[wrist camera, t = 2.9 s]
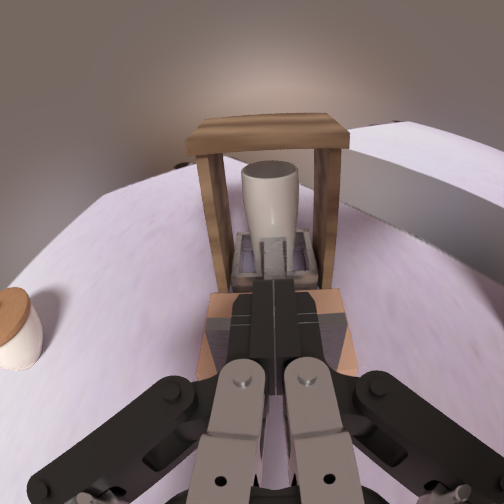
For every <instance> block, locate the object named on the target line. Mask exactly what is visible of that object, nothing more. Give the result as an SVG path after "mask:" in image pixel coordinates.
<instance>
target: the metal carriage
mask: <svg viewBox="0 0 504 504" xmlns="http://www.w3.org/2000/svg"><path fill="white" fill-rule="evenodd" d="M294 249H303V252H304V257H305V263H306V269H307V270H306V271H287V240H286V237H271V238H260V254H261V267H262V272H260V273H242V267H243V256H244V251H253V250H252V244H251V239H250V234H249V232H237V237H236V244H235V251H234V259H233V266H232V273H231V282H232V288H233V293H251V292H253V280H266V279H272V282H273V318H274V367H275V386H277V377H276V334H275V293H274V279H292V278H293V279H294V287H295V291H300V290H317V282H318V271H317V266H316V262H315V257H314V253H313V248H312V244H311V239H310V235H309V231H308V229H296V237H295V247H294ZM317 315H318V323H319V327H320V333H321V340H322V346H323V353H324V358H325V360H326V362H327V364H328V365H329V366H330V367H331V368H332V369H333V370H335V371H336V372H337V369H338V365H339V361H340V357H341V353H342V348H343V344H344V340H345V335H346V331H347V326H348V323H347V319H346V315H345V312H343V313H328V314H317ZM230 326H231V317H230V318H207V319H206V325H205V334H206V337H207V340H208V344H209V347H210V351H211V354H212V357H213V361H214V364H215V367H216V371H217V373H219V372H220V371H221V370H222V368H223V367H224V365H225V363H226V359H227V351H228V342H229V333H230Z"/></svg>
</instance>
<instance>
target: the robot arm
mask: <svg viewBox="0 0 504 504" xmlns="http://www.w3.org/2000/svg"><path fill="white" fill-rule="evenodd" d="M274 293H275V334H276V377H277V395H283V422H284V431H285V440H286V449H287V458H288V476H289V487H288V488H284V489H280V490H270V489H265V488H261V482H262V470H263V455H264V446H265V436H266V426H267V415H268V412H269V395H275V367H274V318H273V282H272V279H266V280H253V292H252V294H239V295H238V297H237V298H236V300H235V301H234V303H233V306H232V317H231V326H230V333H229V342H228V351H227V359H226V363H225V365H224V367H223V368H222V370H221V371H220V372H219V373H217V374H216V375H214V376H212V377H210V378H207V379H204V380H200V381H196V382H192V383H191V382H190V381H189V380H187V379H186V378H184V377H181V376H167V377H164V378H162V379H160V380H159V381H157V382H156V383H155V384H154V385H152V386H151V387H150V388H149V389H147V390H146V391H145V392H144V393H142V394H141V395H140V396H139V397H137V398H136V399H135V400H133V401H132V402H131V403H130V404H128V405H127V406H126V407H125V408H123V409H122V410H121V411H119V412H118V413H117V414H115V415H114V416H113V417H112V418H110V419H109V420H108V421H106V422H105V423H104V424H102V425H101V426H100V427H98V428H97V429H96V430H94V431H93V432H92V433H91V434H89V435H88V436H86V437H85V438H84V439H82V440H81V441H80V442H78V443H77V444H76V445H74V446H73V447H72V448H70V449H69V450H68V451H66V452H65V453H63V454H62V455H61V456H59V457H58V458H56V459H55V460H54V461H52V462H51V463H49V464H48V465H47V466H45V467H44V468H42V469H41V470H40V471H38V472H37V473H35V474H34V475H33V476H31V478H30V479H29V481H28V484H27V495H28V498H29V501H30V502H31V504H130V503H131V502H132V501H134V500H135V499H136V498H138V497H139V496H140V495H141V494H143V493H144V492H145V491H147V490H148V489H149V488H150V487H152V486H153V485H154V484H155V483H157V482H158V481H159V480H160V479H162V478H163V477H164V476H165V475H166V474H168V473H169V472H170V471H171V470H172V469H174V468H175V467H176V466H177V465H178V464H179V463H181V462H182V461H183V460H184V459H185V458H186V457H187V456H189V455H190V454H191V453H192V452H193V451H194V450H195V449H196V448H198V449H197V454H196V459H195V463H194V468H193V473H192V477H191V482H190V487H189V489H188V490H185V491H183V492H181V493H179V494H177V495H176V496H174V497H173V498H171V499H170V500H169V501H167V502H166V503H165V504H389V503H388V502H387V501H386V500H385V499H384V498H382V497H381V496H380V495H379V494H378V493H376V492H374V491H373V490H371V489H369V488H367V487H364V486H361V483H360V478H359V473H358V468H357V463H356V458H355V454H354V449H353V444H354V445H355V446H356V447H357V448H358V449H359V450H361V451H362V452H363V453H364V454H365V455H366V456H368V457H369V458H370V459H371V460H372V461H374V462H375V463H376V464H377V465H378V466H380V467H381V468H382V469H383V470H385V471H386V472H387V473H388V474H390V475H391V476H392V477H393V478H395V479H396V480H397V481H398V482H400V483H401V484H402V485H403V486H405V487H406V488H407V489H409V490H410V491H411V492H412V493H414V494H415V495H416V496H418V497H419V499H418V501H417V503H416V504H504V457H502V456H501V455H500V454H498V453H497V452H495V451H494V450H493V449H491V448H490V447H488V446H487V445H486V444H484V443H483V442H481V441H480V440H479V439H477V438H476V437H475V436H473V435H472V434H470V433H469V432H468V431H466V430H465V429H464V428H462V427H461V426H459V425H458V424H457V423H455V422H454V421H453V420H451V419H450V418H449V417H447V416H446V415H444V414H443V413H442V412H440V411H439V410H438V409H436V408H435V407H434V406H432V405H431V404H430V403H428V402H427V401H426V400H424V399H423V398H421V397H420V396H419V395H417V394H416V393H415V392H413V391H412V390H411V389H409V388H408V387H407V386H405V385H404V384H403V383H401V382H400V381H399V380H397V379H396V378H395V377H393V376H392V375H390V374H389V373H387V372H384V371H370V372H367V373H365V374H364V375H362V376H361V377H354V376H349V375H344V374H341V373H338V372H336V371H335V370H333V369H332V368H331V367H330V366H329V365H328V364H327V362H326V360H325V358H324V353H323V346H322V340H321V333H320V327H319V323H318V315H317V309H316V303H315V300H314V299H313V298H312V296H311V295H310V294H309V292H295V287H294V279H293V278H292V279H274Z"/></svg>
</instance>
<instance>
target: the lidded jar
mask: <svg viewBox="0 0 504 504" xmlns="http://www.w3.org/2000/svg"><path fill="white" fill-rule="evenodd" d="M42 341H43V330H42V325H41V322H40V319H39V316H38V314H37V312H36V310H35V308H34V306H33V304H32V303H31V301H30V298H29V296H28V294H27V293H26V291H25V290H23V289H21V288H18V287H12V288H7V289H4V290H2V291H0V367H1V368H3V369H6V370H18V371H22V370H26V369H28V368H30V367H31V366H32V365H34V364H35V363H36V361H37V360H38V358H39V357H40V354H41V351H42Z"/></svg>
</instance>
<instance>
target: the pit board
mask: <svg viewBox="0 0 504 504" xmlns="http://www.w3.org/2000/svg"><path fill="white" fill-rule="evenodd" d="M295 292H309V294H310V295H311V296H312V298H313V299H314V300H315V303H316V309H317V314H328V313H343V312H345V309H344V305H343V301H342V297H341V294H340V290H339V288H337V289H319V290H300V291H295ZM239 294H252V292H251V293H213V294H211V296H210V301H209V306H208V311H207V317H206V319H207V318H230V317H232V306H233V303H234V301H235V300H236V298H237V297H238V295H239ZM345 315H346V313H345ZM346 319H347V317H346ZM347 323H348V321H347ZM205 325H206V322H205ZM357 371H358V364H357V359H356V355H355V350H354V346H353V342H352V338H351V333H350V329H349V325H348V326H347V331H346V335H345V340H344V344H343V348H342V353H341V357H340V361H339V365H338V369H337V372H338V373H341V374H344V375H349V376H354V377H355V376H356V374H357ZM216 374H217V371H216V367H215V364H214V361H213V357H212V354H211V351H210V347H209V344H208V340H207V337H206V334H205V327H204V333H203V338H202V344H201V349H200V355H199V360H198V366H197V372H196V376H197V378H198V380H199V381H200V380H204V379H207V378H210V377H212V376H214V375H216Z"/></svg>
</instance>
